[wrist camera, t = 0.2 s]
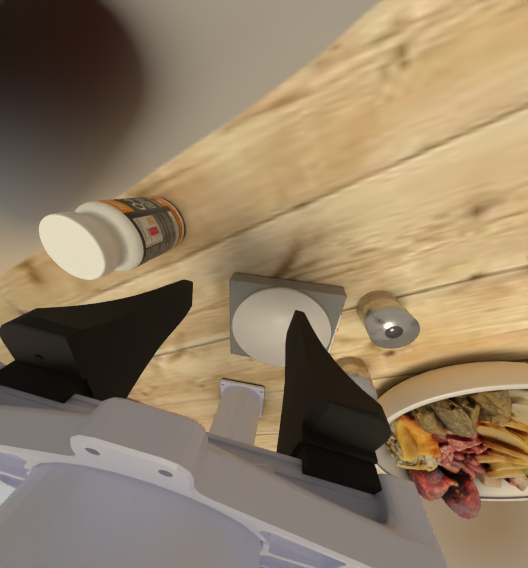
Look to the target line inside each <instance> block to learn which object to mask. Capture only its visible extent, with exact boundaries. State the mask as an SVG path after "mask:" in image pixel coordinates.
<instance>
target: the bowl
mask: <svg viewBox="0 0 528 568" xmlns="http://www.w3.org/2000/svg"><path fill="white" fill-rule="evenodd" d="M377 402H378V403H379V404H381V406H382V408H383V410H384V413H385V415H386V417H387V420H388V423H389V425H390V428H391V431H392V433H391V437H390V438H389V439H388V441H387V442H386V443H385V444H383V445H382V446H381V447H380V448H378V449H377V450H376V451H375V453H376V456H377V459H378V463H377V464H375V467H376V468H377V469H378V470H379V471H380V472H381V473H382V474H389V475H392V476H396V477H399V478H402V479H406V480H409V481H412V482H413V483H414V484H415V486H416V489H417V491H418V493H419V494H420V495H421V496H423V498H425V499H427V500H429V501H433V500H437V499H439V498H441V497H442V499H443V500H444V501H445V503H446V504H447V505H448V506H449V507H450V508H451V509H452V510H453V511H454V512H456V513H457V514H458V515H459V516H461V517H464V518H468V519H470V518H472V517H476V516H477V515H478V513H479V510H480V507H481V500H483V501H522V500H528V363H523V362H506V361H490V362H474V363H465V364H458V365H452V366H447V367H442V368H438V369H434V370H431V371H427V372H424V373H421V374H419V375H416V376H414V377H411V378H409V379H407V380H405V381H403V382H401V383H399V384H397V385H395V386H394V387H392V388H391V389H389V390H388V391H387V392H385V393H384V394H383V395H382V396H381V397H380V398H379V399H378V400H377Z"/></svg>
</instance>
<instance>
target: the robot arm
mask: <svg viewBox="0 0 528 568" xmlns="http://www.w3.org/2000/svg"><path fill="white" fill-rule="evenodd" d="M192 293H193V282H192V281H188V280H185V279H184V280H181V281H178V282H175V283H172V284H169V285H166V286H164V287H161V288H158V289H155V290H152V291H149V292H145V293H142V294H139V295H135V296H131V297H127V298H123V299H118V300H113V301H107V302H101V303H95V304H87V305H78V306H68V307H53V308H36V309H34V310H32V311H30V312H28V313H26V314H24V315H22V316H20V317H18V318H15V319H13V320H11V321H9V322H7V323H5V324H3V325H1V328H0V337H1V339H2V341H3V342H4V344H5V345H6V347H7V348H8V350H9V351H10V353H11V354H12V356H13V357H14V359H15V361H13V362H12V363H10V364H8V365H7V366H6V365H4V364H3V363H1V362H0V483H2V484H4V485H7V486H10V487H12V488H15V490H14V491H13V493H12V494H11V495H10V496H9V497H8V498H7V499H6V500H5V501H4V503H2V504H1V506H0V568H259V566H262V567H266V568H448V566H447V563H446V561H445V558H444V556H443V553H442V551H441V548H440V546H439V543H438V541H437V538H436V536H435V533H434V531H433V528H432V526H431V523H430V521H429V518H428V516H427V513H426V511H425V509H424V506H423V504H422V501H421V499H420V496H419V494H418V491H417V489H416V486H415V484H414V483H413V482H412V481H409V480H406V479H402V478H399V477H396V476H392V475H389V474H377V470H376V467H375V464H377V463H378V459H377V456H376V453H375V451H376V450H377V449H378V448H380V447H381V446H382V445H383V444H385V443H386V442H387V441H388V439H389V438H390V437H391V433H392V431H391V428H390V425H389V423H388V420H387V417H386V415H385V413H384V410H383V408H382V406H381V404H379V403H378V402H377V401H376V400H375V399H373V398H372V397H371V396H370V395H369V394H367V393H366V392H365V391H364V390H363V389H362V388H361V387H360V386H359V385H357V384H356V383H355V382H354V381H353V380H352V379H351V378H350V377H349V376H348V375H347V374H346V373H345V372H344V371H343V369H342V368H341V367H340V366H339V365H338V364H337V363H336V362H335V360H334V359H333V358H332V357H331V355H330V354H329V353H328V351H327V350H326V349H325V347H324V346H323V344H322V343H321V341H320V340H319V338H318V337H317V335H316V333H315V332H314V330H313V328H312V326H311V324H310V322H309V320H308V318H307V316H306V315H305V313H304V312H302V311H298V310H295V312H294V314H293V317H292V320H291V322H290V325H289V328H288V330H287V334H286V342H285V386H284V396H283V405H282V414H281V422H280V430H279V438H278V445H277V452H274V451H270V450H267V449H263V448H260V447H257V446H254V443H255V436H256V430H257V424H258V418H261V415H262V408H263V400H264V392H265V388H264V387H262V386H257V385H251V384H246V383H241V382H236V381H230V380H225V379H221V381H220V389H221V399H220V402H219V405H218V408H217V411H216V414H215V417H214V419H213V422H212V425H211V428H210V431H209V432H206V430H205V428H204V427H203V426H202V425H200V424H199V423H198V422H197V421H195V420H193V419H191V418H188V417H186V416H183V415H180V414H176V413H173V412H170V411H166V410H163V409H159V408H156V407H152V406H149V405H145V404H142V403H139V402H135V401H132V400H128V399H126V398H127V396H128V395H129V393H130V391H131V390H132V388H133V386H134V385H135V383H136V382H137V380H138V378H139V377H140V375H141V374H142V372H143V371H144V369H145V368H146V366H147V364H148V363H149V361H150V360H151V359H152V357H153V356H154V354H155V353H156V351H157V350H158V348H159V347H160V346H161V345H162V343H163V342H164V341H165V340H166V339H167V337H168V336H169V335H170V334H171V333H172V332H173V330H174V329H175V328H176V327H177V326H178V325H179V323H180V322H181V321H182V320H183V319H184V317H185V316H186V314H187V313H188V311H189V310H190V308H191V307H192Z"/></svg>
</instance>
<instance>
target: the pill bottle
mask: <svg viewBox="0 0 528 568" xmlns="http://www.w3.org/2000/svg"><path fill="white" fill-rule="evenodd" d="M39 234H40V238H41V241H42V243H43V246H44V248H45V250H46V251H47V253H48V254H49V255H50V257H51V258H52V259H53V260H54V261H55V262H56V263H57V264H58V265H59V266H60V267H61V268H62V269H64V270H65V271H67V272H68V273H70V274H72V275H74V276H76V277H78V278H81V279H87V280H93V279H97V278H100V277H102V276H105V275H107V274H109V273H111V272H113V271H114V270H116V271H126V270H131V269H134V268H136V267H138V266H140V265H142V264H143V263H145V262H147V261H149V260H151V259H153V258H155V257H157V256H159V255H161V254H163V253H165V252H167V251H169V250H171V249H172V248H174V247H176V246H177V245H178V244H179V243H180V242H181V241H182V239H183V236H184V224H183V220H182V218H181V216H180V214H179V213H178V211H177V210H176V208H175V207H174V206H173V205H171V204H170V203H169V202H167V201H166V200H164V199H162V198H159V197H139V198H127V199H114V200H101V201H91V202H87V203H85V204H82V205H81V206H80V207H78V208H77V209H76V210H75V212H63V213H56V214H51V215H48V216H46V217H44V218H43V219H42V221H41V223H40V226H39Z"/></svg>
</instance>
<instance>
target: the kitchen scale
mask: <svg viewBox="0 0 528 568" xmlns="http://www.w3.org/2000/svg"><path fill="white" fill-rule="evenodd" d="M346 297H347V295H346V293H345V291H344V289H343V287H338V286H330V285H323V284H315V283H308V282H300V281H293V280H285V279H278V278H270V277H263V276H255V275H248V274H240V273H234V274H233V276H232V277H231V279H230V342H231V354H236V355H242V356H248V357H252V358H254V359H256V360H258V361H260V362H262V363H265V364H268V365H272V366H278V367H285V342H286V334H287V330H288V328H289V325H290V322H291V320H292V317H293V314H294V312H295V310H298V311H302V312H304V313H305V315H306V316H307V318H308V320H309V322H310V324H311V326H312V328H313V330H314V332H315V333H316V335H317V337H318V338H319V340H320V341H321V343H322V344H323V346H324V347H325V349H326V350H327V351H328V353H329V351H330V348H331V345H332V342H333V339H334V336H335V333H336V331H338V324H339V322H340V319H341V316H342V314H341V312H342V309H343V306H344V303H345V300H346Z"/></svg>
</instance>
